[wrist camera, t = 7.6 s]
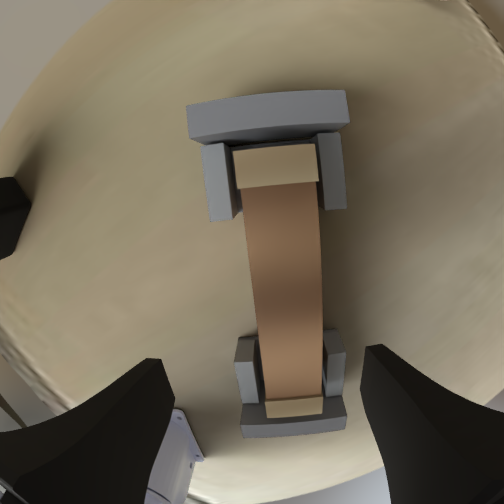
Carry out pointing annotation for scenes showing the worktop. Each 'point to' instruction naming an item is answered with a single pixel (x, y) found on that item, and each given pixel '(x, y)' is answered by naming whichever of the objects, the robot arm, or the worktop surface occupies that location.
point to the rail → (285, 272)
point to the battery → (11, 214)
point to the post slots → (230, 203)
